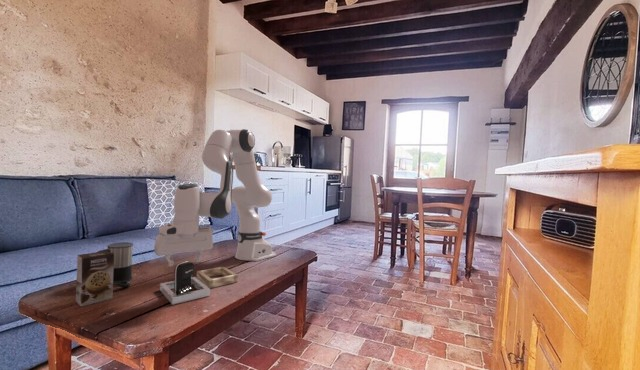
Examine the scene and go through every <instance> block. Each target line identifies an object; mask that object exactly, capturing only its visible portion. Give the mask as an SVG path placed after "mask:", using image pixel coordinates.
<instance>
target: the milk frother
mask: <svg viewBox="0 0 640 370" xmlns="http://www.w3.org/2000/svg"><path fill="white" fill-rule="evenodd" d="M133 245H134V243H133V242H130V241H129V242H128V241H127V242H126V241H123V242H121V241H120V242H113V243H108V244H106V247H107V248H106V249H105V248H104V249H100V250H97V252H102V251H109V252H112V253H114V270H113V286H117V287H119V288H123V289H125V288H126V287H130V286H131V282H130V281H131V280H132V279H133V275H132V274H133V273H132V271H133V270H132V269H133V267H132V266H133V264H132V263H133Z"/></svg>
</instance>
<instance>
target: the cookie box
mask: <svg viewBox="0 0 640 370" xmlns="http://www.w3.org/2000/svg"><path fill="white" fill-rule="evenodd" d="M76 258H77V259H76V260H77V261H76V284H75V285H76V286H75V302H76V303H77V304H78V305H79V306H80V307H85V306H90V305H92V304H96V303H97V304H98V303H101V302H103V301H108V300H111V299H112V300H113V296H114V295H113V294H114V292H113V290H114V285H113V270H114V253H112V252H109V251H102V252H98V251H95V252H90V253H89V252H88V253H83V254H77V257H76Z"/></svg>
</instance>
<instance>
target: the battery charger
mask: <svg viewBox="0 0 640 370" xmlns="http://www.w3.org/2000/svg"><path fill="white" fill-rule="evenodd" d="M194 275H195V263H194V262H192V261H189V260H188V261H183V262H180V263H177V264H175V267H174V276H173V277H174V278H173V279H174V280H173V281H174V289H173V293H174V294H175V295H179V294H183V293H188V292H192V291H193V287H192V286H193V285H191V278H192V277H194Z"/></svg>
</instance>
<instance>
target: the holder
mask: <svg viewBox="0 0 640 370" xmlns="http://www.w3.org/2000/svg"><path fill="white" fill-rule="evenodd" d="M191 286H193V287H194V288H195V289H196V290H192V291H190V292H188V293H183V294H179V295H175V294H174V291H172V289H173V290H174V280H173V281H165V282H160V283H159V291H160V292H161V293H162V294H163V296H164V297H165V298H166V299H167V300H168V302H169V303H170V304H171V305H172V306H173V305H177V304H180V303H181V304H182V303H185V302H190V301H194V300H198V299H202V298H206V297H210V295H211V288H208V287H207V286H206V285H204V284H203V283H202V282H201V281H199V280H198V279H197V276H192V277H191Z"/></svg>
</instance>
